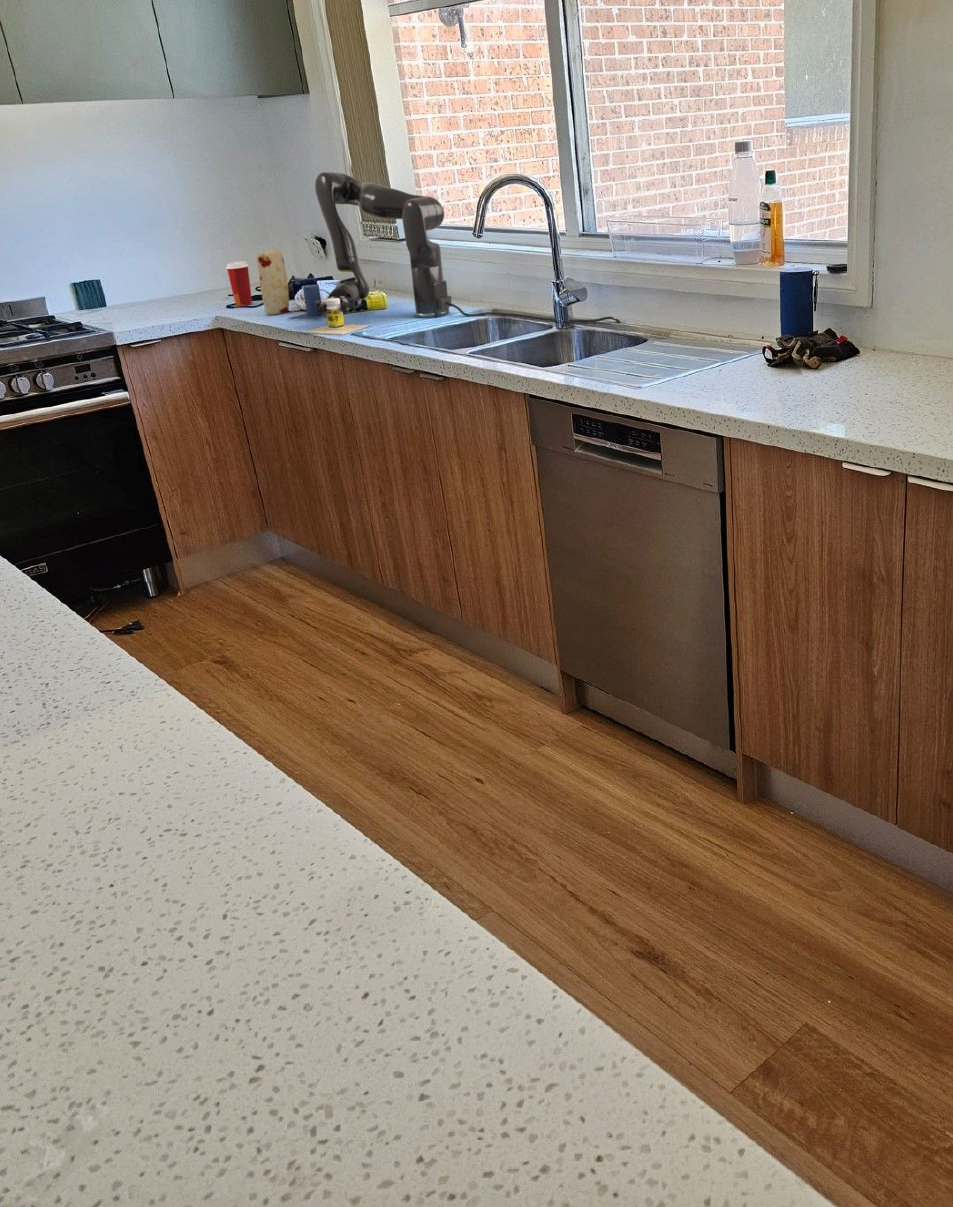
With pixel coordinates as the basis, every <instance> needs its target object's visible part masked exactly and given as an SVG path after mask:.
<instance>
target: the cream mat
mask: <svg viewBox="0 0 953 1207" xmlns="http://www.w3.org/2000/svg"><path fill="white" fill-rule="evenodd" d="M344 326H345V327H344V328H343V329H338V330H330V329H329V328H328V324H327V325H323V326H321V327H317V328H313V329H310V330H308V331H305V333H306V334H316V335H317V334H318V335H320V334H321V335H338V336H343V335H346V334H349V333H352V332H355V331H358V330H361V329H364V328H367V327H369V324H354V323H353V324H351V323H344Z"/></svg>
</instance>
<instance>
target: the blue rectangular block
mask: <svg viewBox="0 0 953 1207" xmlns="http://www.w3.org/2000/svg"><path fill="white" fill-rule="evenodd" d="M302 291H303V299H304V305H305V311H306V313H307V316H308V317H315V316H321V315H323V313H322V312H317V309H316V300H320V301H321V302H322V299H321V291H320V285H319V284H307V285H303V286H302Z"/></svg>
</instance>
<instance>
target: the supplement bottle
mask: <svg viewBox="0 0 953 1207" xmlns="http://www.w3.org/2000/svg"><path fill="white" fill-rule="evenodd" d="M325 300H326V299H325ZM326 304H327V305H328V306H327V307H326V313H327V317H326V319H327V321H326V322H327V325H328V328H329V329H330V330H338V329H343V328H344V327H345V326H344V324H345V319H344V314H343V312H342V311H341V305H340V299H339V298H332V299H328V298H327V300H326Z"/></svg>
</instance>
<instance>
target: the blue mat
mask: <svg viewBox="0 0 953 1207" xmlns="http://www.w3.org/2000/svg"><path fill="white" fill-rule="evenodd" d="M324 318H327V313H326V312H325V313H323V315H321V316H315V317H308V316H307V312H305V313H301V314H299V315H295V316H292V317H288V320H309V321H317V320H321V319H324Z"/></svg>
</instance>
